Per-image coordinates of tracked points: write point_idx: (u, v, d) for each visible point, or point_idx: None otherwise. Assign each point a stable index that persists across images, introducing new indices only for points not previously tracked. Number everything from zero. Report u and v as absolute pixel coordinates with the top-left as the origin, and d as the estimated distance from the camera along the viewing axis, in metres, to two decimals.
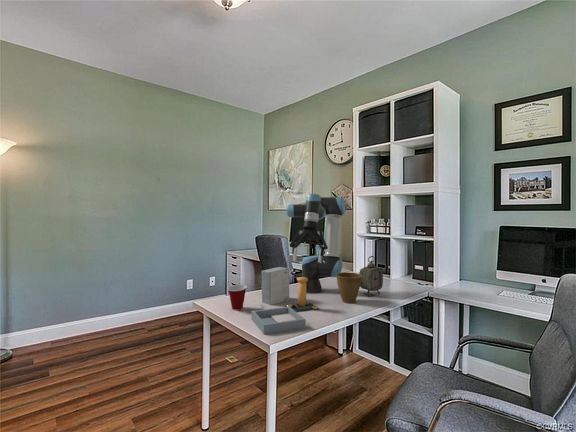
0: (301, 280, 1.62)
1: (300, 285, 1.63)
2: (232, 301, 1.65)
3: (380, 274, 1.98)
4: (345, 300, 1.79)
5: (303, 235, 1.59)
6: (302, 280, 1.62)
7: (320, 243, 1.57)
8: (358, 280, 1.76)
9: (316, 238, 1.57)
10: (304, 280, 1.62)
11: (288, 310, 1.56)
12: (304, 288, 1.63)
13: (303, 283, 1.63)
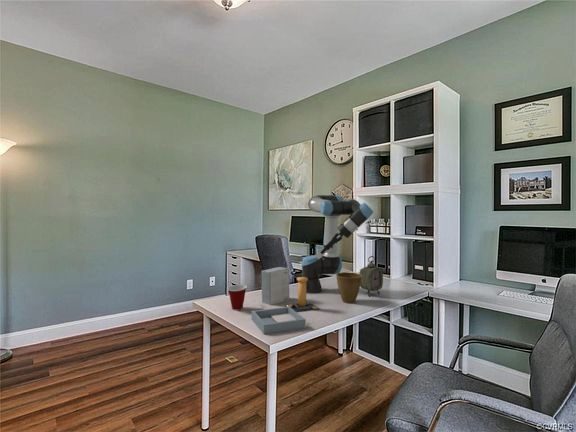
0: (301, 280, 1.62)
1: (300, 285, 1.63)
2: (232, 301, 1.65)
3: (380, 274, 1.98)
4: (345, 300, 1.79)
5: None
6: (302, 280, 1.62)
7: None
8: (358, 280, 1.76)
9: None
10: (304, 280, 1.62)
11: (288, 310, 1.56)
12: (304, 288, 1.63)
13: (303, 283, 1.63)
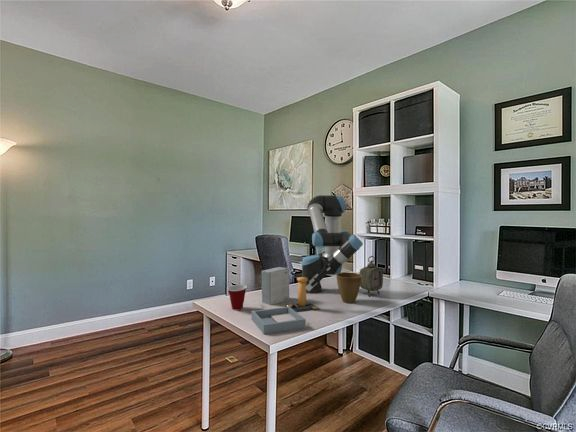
0: (301, 280, 1.62)
1: (300, 285, 1.63)
2: (232, 301, 1.65)
3: (380, 274, 1.98)
4: (345, 300, 1.79)
5: (328, 272, 1.58)
6: (302, 280, 1.62)
7: (322, 271, 1.67)
8: (358, 280, 1.76)
9: None
10: (304, 280, 1.62)
11: (288, 310, 1.56)
12: (304, 288, 1.63)
13: (303, 283, 1.63)
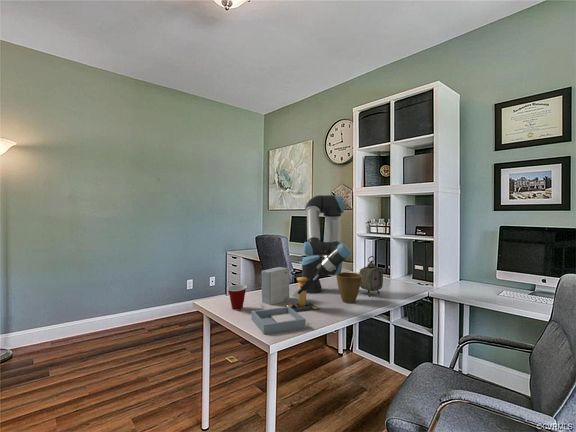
0: (301, 280, 1.62)
1: (300, 285, 1.63)
2: (232, 301, 1.65)
3: (380, 274, 1.98)
4: (345, 300, 1.79)
5: (316, 280, 1.61)
6: (302, 280, 1.62)
7: None
8: (358, 280, 1.76)
9: None
10: (304, 280, 1.62)
11: (288, 310, 1.56)
12: None
13: (303, 283, 1.63)
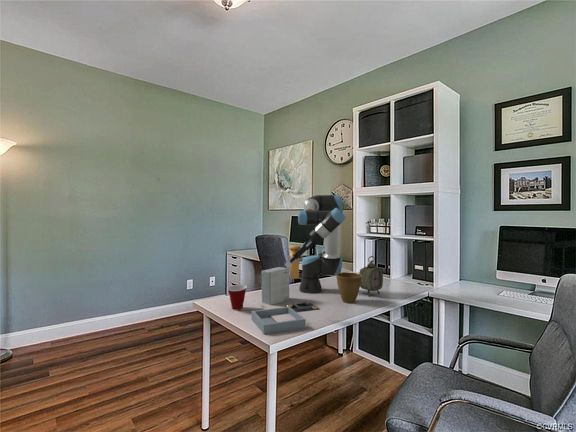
0: (293, 248, 1.52)
1: (292, 253, 1.53)
2: (232, 301, 1.65)
3: (380, 274, 1.98)
4: (345, 300, 1.79)
5: (309, 248, 1.52)
6: (294, 248, 1.52)
7: None
8: (358, 280, 1.76)
9: None
10: (296, 248, 1.53)
11: (288, 310, 1.56)
12: None
13: (295, 251, 1.53)
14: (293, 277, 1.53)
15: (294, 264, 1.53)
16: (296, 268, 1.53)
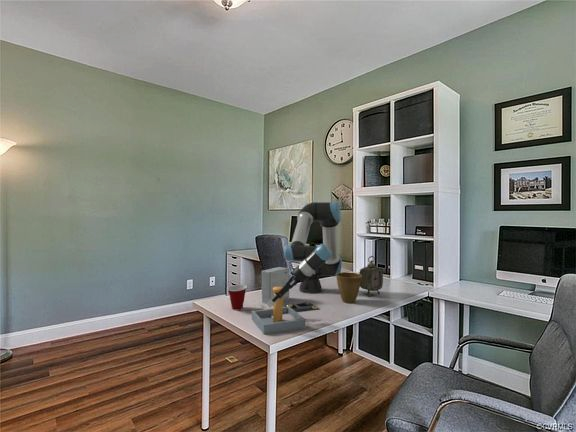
0: (277, 290, 1.43)
1: None
2: (232, 301, 1.65)
3: (380, 274, 1.98)
4: (345, 300, 1.79)
5: None
6: (278, 291, 1.42)
7: None
8: (358, 280, 1.76)
9: None
10: None
11: (288, 310, 1.56)
12: (280, 300, 1.44)
13: (279, 294, 1.43)
14: (276, 321, 1.44)
15: (277, 308, 1.43)
16: (279, 312, 1.44)
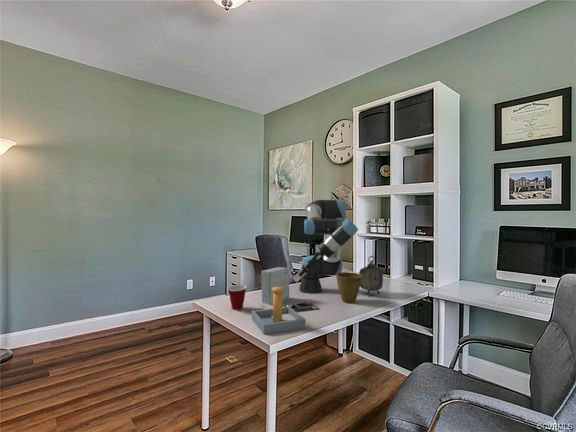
0: (276, 291, 1.43)
1: (275, 296, 1.44)
2: (232, 301, 1.65)
3: (380, 274, 1.98)
4: (345, 300, 1.79)
5: (319, 261, 1.40)
6: (277, 291, 1.43)
7: None
8: (358, 280, 1.76)
9: None
10: (279, 291, 1.43)
11: (288, 310, 1.56)
12: (279, 300, 1.44)
13: (278, 294, 1.43)
14: (276, 321, 1.44)
15: (277, 308, 1.43)
16: (279, 312, 1.44)
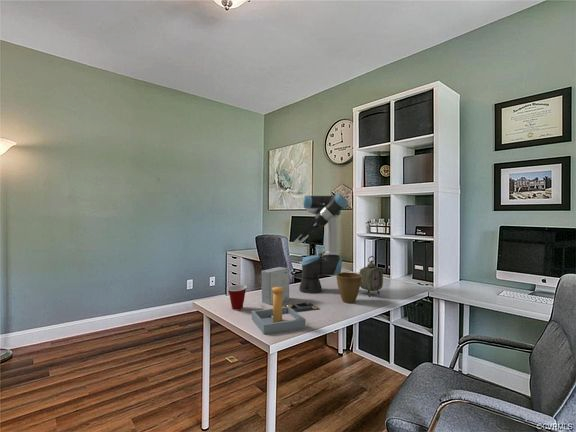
0: (276, 291, 1.43)
1: (275, 296, 1.44)
2: (232, 301, 1.65)
3: (380, 274, 1.98)
4: (345, 300, 1.79)
5: (315, 229, 1.68)
6: (277, 291, 1.43)
7: None
8: (358, 280, 1.76)
9: (314, 229, 1.75)
10: (279, 291, 1.43)
11: (288, 310, 1.56)
12: (279, 300, 1.44)
13: (278, 294, 1.43)
14: (276, 321, 1.44)
15: (277, 308, 1.43)
16: (279, 312, 1.44)
